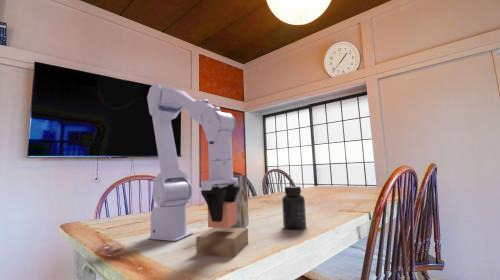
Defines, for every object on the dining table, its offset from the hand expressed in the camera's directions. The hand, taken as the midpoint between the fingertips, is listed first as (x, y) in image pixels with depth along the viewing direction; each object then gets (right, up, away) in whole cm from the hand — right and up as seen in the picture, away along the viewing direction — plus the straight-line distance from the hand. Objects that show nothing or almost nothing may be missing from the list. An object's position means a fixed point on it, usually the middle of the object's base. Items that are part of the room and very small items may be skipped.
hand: (222, 218), depth 58 cm
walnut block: (0, -7, -1) cm, 7 cm away
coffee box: (+2, -9, +20) cm, 22 cm away
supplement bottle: (+20, -8, +16) cm, 27 cm away
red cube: (0, -1, 0) cm, 1 cm away
